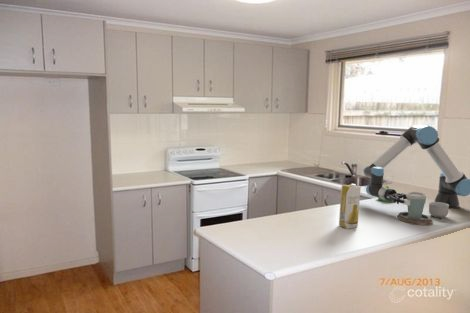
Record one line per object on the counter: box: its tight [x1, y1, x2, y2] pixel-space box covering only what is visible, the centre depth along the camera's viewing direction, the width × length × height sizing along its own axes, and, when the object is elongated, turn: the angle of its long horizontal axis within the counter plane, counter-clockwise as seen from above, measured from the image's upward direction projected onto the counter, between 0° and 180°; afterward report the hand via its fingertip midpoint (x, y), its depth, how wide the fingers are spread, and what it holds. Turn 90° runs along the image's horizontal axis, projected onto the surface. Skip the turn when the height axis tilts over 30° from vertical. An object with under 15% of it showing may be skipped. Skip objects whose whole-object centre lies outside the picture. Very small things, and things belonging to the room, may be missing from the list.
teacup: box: [428, 201, 450, 219], centre depth 231 cm, size 14×11×8 cm
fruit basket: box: [377, 185, 393, 203], centre depth 266 cm, size 11×9×11 cm
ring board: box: [396, 211, 433, 226], centre depth 220 cm, size 19×19×2 cm
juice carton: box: [338, 183, 361, 230], centre depth 202 cm, size 9×8×24 cm
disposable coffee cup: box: [406, 191, 427, 219], centre depth 219 cm, size 11×11×15 cm
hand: (417, 202), depth 218 cm, fingers open, 13 cm apart
